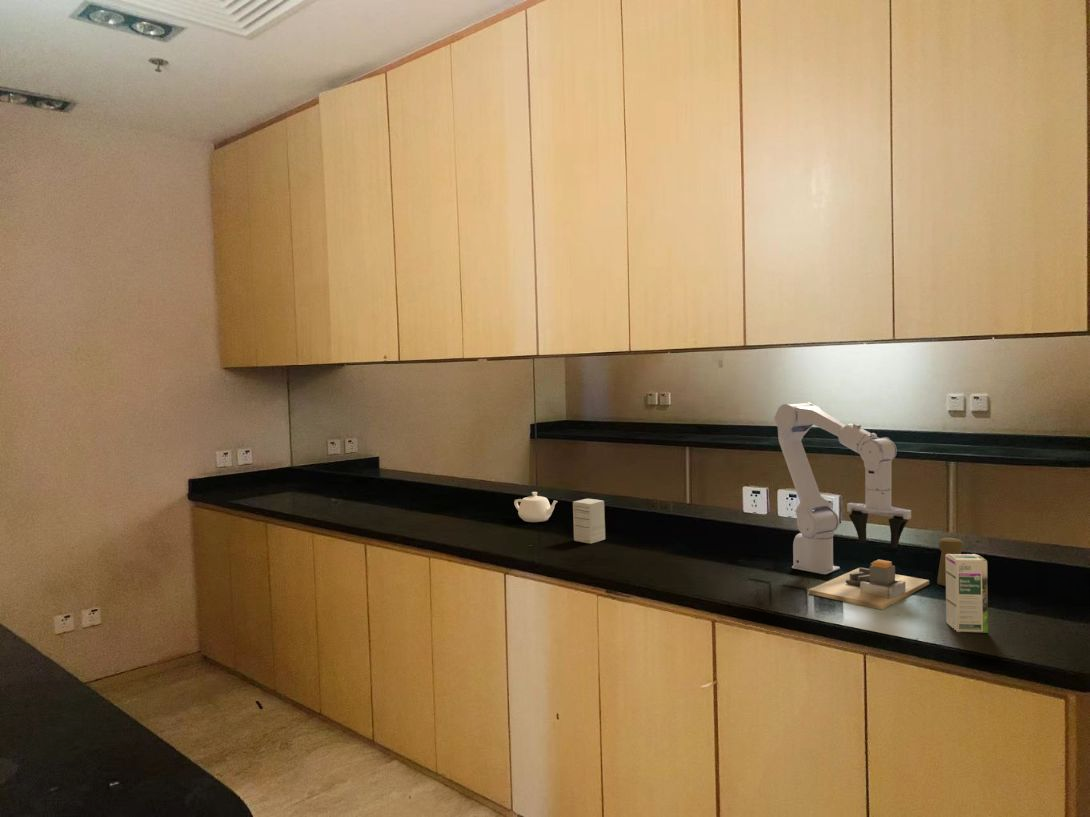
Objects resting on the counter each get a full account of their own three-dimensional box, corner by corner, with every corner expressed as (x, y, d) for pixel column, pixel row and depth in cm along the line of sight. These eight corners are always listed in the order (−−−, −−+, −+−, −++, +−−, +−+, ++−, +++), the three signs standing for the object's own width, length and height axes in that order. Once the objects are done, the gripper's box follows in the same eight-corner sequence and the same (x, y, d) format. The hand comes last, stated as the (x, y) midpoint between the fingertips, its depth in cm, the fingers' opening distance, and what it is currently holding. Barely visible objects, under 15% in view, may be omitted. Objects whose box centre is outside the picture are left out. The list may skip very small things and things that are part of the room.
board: (808, 593, 171) (808, 589, 171) (859, 571, 188) (859, 567, 188) (882, 609, 158) (882, 605, 158) (929, 584, 176) (929, 580, 176)
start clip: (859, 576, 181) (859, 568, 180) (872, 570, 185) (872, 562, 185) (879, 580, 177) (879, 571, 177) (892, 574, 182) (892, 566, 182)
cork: (939, 578, 180) (939, 534, 180) (967, 582, 176) (967, 537, 176) (934, 584, 175) (934, 539, 175) (963, 588, 171) (962, 542, 171)
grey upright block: (861, 590, 169) (861, 560, 169) (869, 586, 172) (869, 557, 171) (887, 595, 165) (887, 564, 164) (895, 591, 167) (894, 561, 167)
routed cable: (844, 583, 174) (844, 579, 174) (859, 576, 180) (859, 572, 180) (877, 590, 169) (877, 586, 169) (892, 582, 174) (892, 578, 174)
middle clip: (860, 585, 173) (860, 577, 173) (849, 581, 176) (849, 573, 176) (872, 583, 174) (872, 575, 174) (861, 580, 177) (861, 571, 177)
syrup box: (956, 632, 144) (956, 559, 143) (945, 622, 149) (945, 552, 149) (988, 633, 143) (988, 559, 142) (975, 623, 148) (975, 552, 148)
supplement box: (588, 536, 238) (587, 498, 237) (605, 539, 232) (605, 500, 232) (573, 540, 232) (572, 501, 232) (590, 544, 227) (589, 503, 226)
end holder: (860, 593, 167) (860, 582, 167) (874, 586, 172) (874, 575, 172) (891, 599, 162) (891, 588, 162) (905, 592, 167) (905, 581, 167)
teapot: (568, 519, 267) (567, 492, 266) (547, 525, 257) (546, 497, 256) (525, 514, 279) (525, 487, 278) (504, 520, 269) (503, 492, 269)
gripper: (841, 487, 178) (841, 542, 179) (902, 494, 167) (902, 552, 168) (854, 484, 183) (854, 537, 183) (915, 490, 172) (914, 547, 172)
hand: (878, 544), depth 176 cm, fingers open, 7 cm apart
